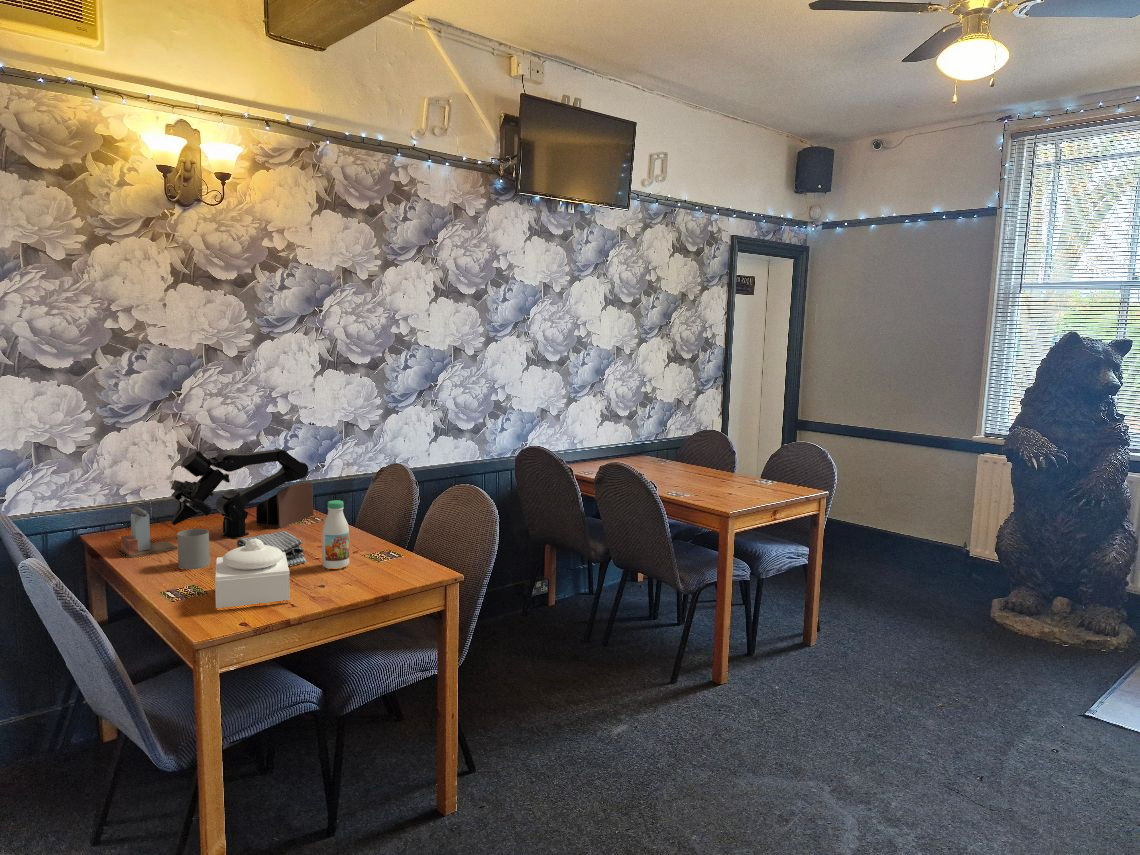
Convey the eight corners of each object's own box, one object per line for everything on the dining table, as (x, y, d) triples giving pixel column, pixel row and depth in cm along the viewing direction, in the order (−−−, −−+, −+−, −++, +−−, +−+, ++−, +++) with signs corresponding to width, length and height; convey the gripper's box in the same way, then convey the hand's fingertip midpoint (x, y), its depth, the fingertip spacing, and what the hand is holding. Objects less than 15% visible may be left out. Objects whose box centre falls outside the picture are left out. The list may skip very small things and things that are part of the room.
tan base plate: (166, 543, 250) (166, 528, 249) (177, 549, 244) (176, 534, 243) (120, 551, 240) (119, 535, 239) (130, 557, 234) (129, 541, 233)
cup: (174, 564, 229) (172, 532, 228) (202, 559, 235) (201, 527, 234) (185, 571, 223) (184, 538, 222) (214, 565, 229) (213, 533, 228)
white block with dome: (216, 612, 194) (214, 550, 192) (217, 588, 211) (215, 532, 209) (289, 604, 202) (289, 545, 199) (285, 582, 218) (284, 527, 216)
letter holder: (314, 516, 290) (313, 479, 288) (279, 529, 271) (278, 490, 269) (291, 514, 293) (290, 477, 291) (255, 526, 274) (254, 487, 272)
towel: (284, 550, 247) (283, 526, 246) (307, 565, 234) (307, 540, 233) (235, 559, 237) (234, 534, 236) (256, 574, 224) (256, 548, 223)
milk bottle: (317, 568, 230) (316, 502, 227) (333, 561, 237) (332, 497, 235) (338, 572, 228) (338, 505, 225) (354, 564, 235) (354, 500, 232)
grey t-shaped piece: (143, 544, 244) (142, 505, 243) (152, 550, 239) (151, 510, 237) (129, 547, 241) (128, 507, 240) (138, 553, 236) (137, 512, 234)
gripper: (176, 466, 254) (141, 504, 247) (198, 475, 241) (163, 515, 235) (202, 485, 261) (169, 523, 254) (225, 495, 248) (191, 535, 242)
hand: (172, 524), depth 246 cm, fingers closed
